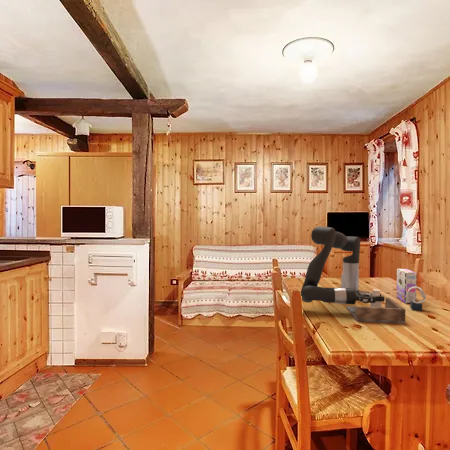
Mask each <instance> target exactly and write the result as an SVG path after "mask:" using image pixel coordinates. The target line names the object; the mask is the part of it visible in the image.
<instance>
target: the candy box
mask: <svg viewBox="0 0 450 450" xmlns="http://www.w3.org/2000/svg"><path fill="white" fill-rule="evenodd" d="M417 276H418V273H417V272H415V271H413V270H410V269H409V268H396V298H397V299H399V300H400V301H401V302H402V303H404V304H410V301H411V300H410V299H409V297H408V295H407V291H408V289H409V288H411V287H414V286H416V287H418V285H417V284H418V283H417V282H418V280H417V279H418V277H417ZM409 295H410V297H411V299H412V301H416V302H417V288H413V289H411V290H410V291H409Z"/></svg>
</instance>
